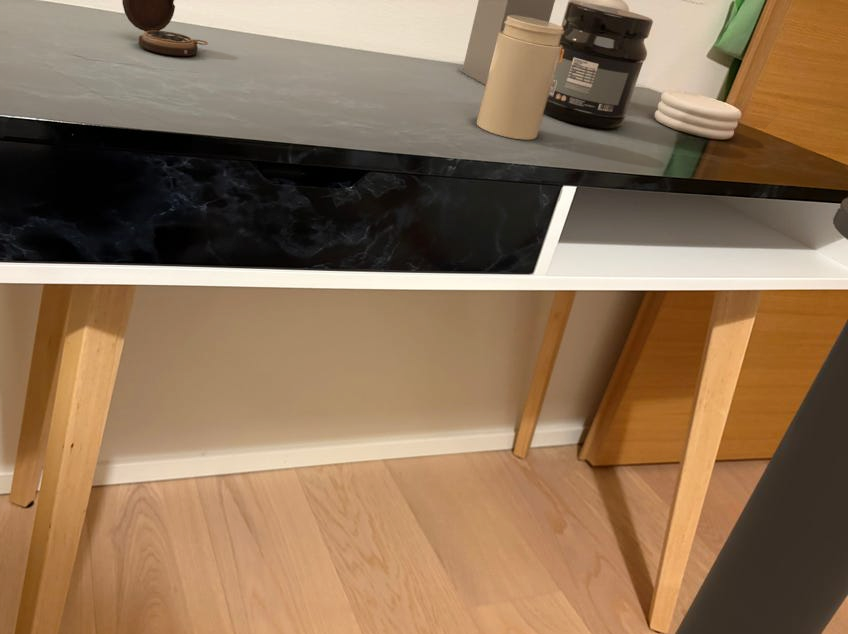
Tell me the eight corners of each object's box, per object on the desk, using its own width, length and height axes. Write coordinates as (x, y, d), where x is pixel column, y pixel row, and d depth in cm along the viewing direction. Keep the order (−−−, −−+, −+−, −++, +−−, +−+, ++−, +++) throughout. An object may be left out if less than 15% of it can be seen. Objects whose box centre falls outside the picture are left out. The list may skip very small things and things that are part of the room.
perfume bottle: (504, 76, 110) (541, -69, 101) (530, 90, 105) (572, -63, 96) (461, 72, 108) (496, -79, 99) (486, 85, 102) (525, -72, 93)
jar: (549, 140, 83) (581, 32, 77) (501, 139, 79) (532, 26, 74) (510, 121, 87) (538, 17, 82) (464, 119, 84) (490, 11, 78)
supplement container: (600, 112, 101) (633, 10, 95) (636, 136, 92) (675, 26, 86) (522, 99, 99) (551, -5, 93) (552, 123, 90) (586, 9, 84)
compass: (160, 58, 82) (164, -19, 79) (118, 38, 87) (120, -36, 83) (223, 58, 88) (229, -14, 84) (180, 39, 92) (185, -30, 88)
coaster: (745, 139, 103) (757, 112, 101) (705, 142, 97) (717, 113, 95) (679, 116, 109) (689, 89, 107) (638, 116, 103) (647, 88, 101)
